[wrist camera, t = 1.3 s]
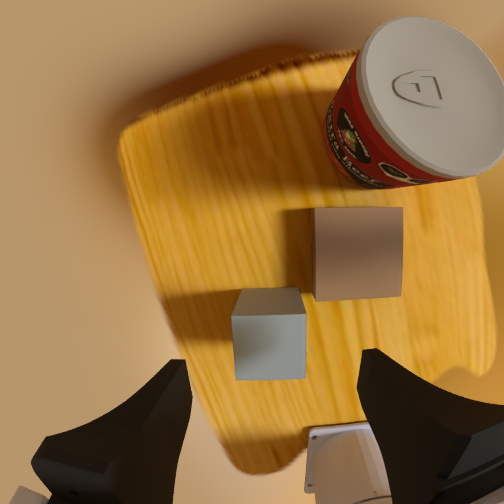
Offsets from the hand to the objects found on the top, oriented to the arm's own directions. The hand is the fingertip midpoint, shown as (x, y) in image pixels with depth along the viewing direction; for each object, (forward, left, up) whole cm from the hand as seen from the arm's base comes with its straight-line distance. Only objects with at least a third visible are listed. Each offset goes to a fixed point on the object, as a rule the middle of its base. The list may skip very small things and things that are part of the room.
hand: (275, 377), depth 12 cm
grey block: (-1, 0, -11) cm, 11 cm away
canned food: (+12, -8, -11) cm, 18 cm away
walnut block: (+4, -6, -11) cm, 13 cm away
